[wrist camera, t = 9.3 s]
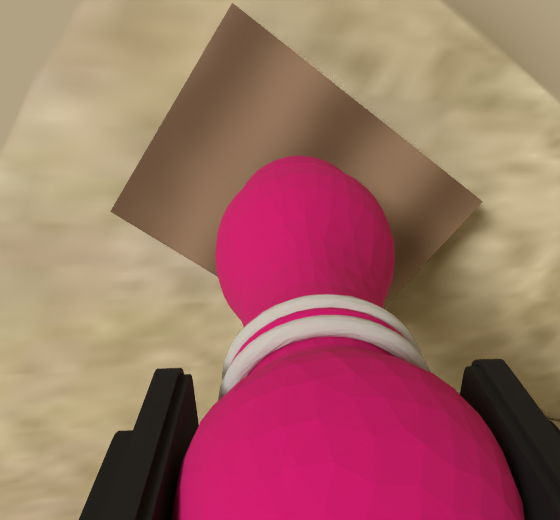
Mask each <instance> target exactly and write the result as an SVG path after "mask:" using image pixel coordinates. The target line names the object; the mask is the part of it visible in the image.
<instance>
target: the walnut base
mask: <svg viewBox="0 0 560 520" xmlns="http://www.w3.org/2000/svg"><path fill="white" fill-rule="evenodd" d="M290 156H308V157H315V158H318V159H321V160H324V161H327V162H329V163H331V164H333V165H334V166H336V167H337V168H339V169H340V170H341V171H342V172H343V173H345V174H347V175H349V176H351V177H353V178H355V179H356V180H357V181H358V182H360V183H361V184H362V185H364V186H365V187H366V188H367V189H368V190H369V191H370V192H371V193H372V195H373V196H374V197H375V198H376V199H377V201H378V203H379V204H380V206H381V208H382V209H383V212H384V214H385V216H386V219H387V221H388V223H389V226H390V229H391V233H392V236H393V239H394V254H395V261H394V273H393V279H392V283H391V285H390V288H389V291H388V294H387V296H386V298H385V300H384V302H383V308H384V307H385V306H386V305H387V304H388V303H389V302H390V301H391V300H392V298H393V297H394V296H395V295H396V294H397V293H398V292H399V291H400V290H401V289H402V288H403V287H404V286H405V285H406V283H407V282H408V281H409V280H410V279H411V278H412V277H413V276H414V275H415V274H416V273H417V272H418V271H419V270H420V268H421V267H422V266H423V265H424V264H425V263H426V262H427V261H428V260H429V259H430V258H431V257H432V256H433V254H434V253H435V252H436V251H437V250H438V249H439V248H440V247H441V246H442V245H443V244H444V243H445V242H446V241H447V239H448V238H449V237H450V236H451V235H452V234H453V233H454V232H455V231H456V230H457V229H458V228H459V227H460V226H461V224H462V223H463V222H464V221H465V220H466V219H467V218H468V217H469V216H470V215H471V214H472V213H473V212H474V210H475V209H476V208H477V207H478V206H479V205H480V204H481V203H482V202H483V201H481V200H480V199H479V198H477V197H476V196H475V195H474V194H472V193H471V192H470V191H469V190H467V189H466V188H465V187H464V186H462V185H461V184H460V183H459V182H457V181H456V180H455V179H454V178H452V177H451V176H450V175H449V174H447V173H446V172H445V171H443V170H442V169H441V168H440V167H438V166H437V165H436V164H435V163H433V162H432V161H431V160H430V159H428V158H427V157H426V156H425V155H423V154H422V153H421V152H420V151H418V150H417V149H416V148H414V147H413V146H412V145H411V144H409V143H408V142H407V141H406V140H404V139H403V138H402V137H401V136H399V135H398V134H397V133H396V132H394V131H393V130H392V129H391V128H389V127H388V126H387V125H386V124H384V123H383V122H382V121H380V120H379V119H378V118H377V117H375V116H374V115H373V114H372V113H370V112H369V111H368V110H367V109H365V108H364V107H363V106H362V105H360V104H359V103H358V102H357V101H355V100H354V99H353V98H352V97H350V96H349V95H348V94H346V93H345V92H344V91H343V90H341V89H340V88H339V87H338V86H336V85H335V84H334V83H333V82H331V81H330V80H329V79H328V78H326V77H325V76H324V75H323V74H321V73H320V72H319V71H317V70H316V69H315V68H314V67H312V66H311V65H310V64H309V63H307V62H306V61H305V60H304V59H302V58H301V57H300V56H299V55H297V54H296V53H295V52H294V51H292V50H291V49H290V48H289V47H287V46H286V45H285V44H283V43H282V42H281V41H280V40H278V39H277V38H276V37H275V36H273V35H272V34H271V33H270V32H268V31H267V30H266V29H265V28H263V27H262V26H261V25H260V24H258V23H257V22H256V21H254V20H253V19H252V18H251V17H249V16H248V15H247V14H246V13H244V12H243V11H242V10H241V9H239V8H238V7H237V6H236V5H234V4H233V3H232V4H231V6H230V8H229V9H228V11H227V13H226V15H225V16H224V18H223V20H222V21H221V23H220V25H219V27H218V28H217V30H216V32H215V33H214V35H213V37H212V38H211V40H210V42H209V44H208V45H207V47H206V49H205V50H204V52H203V54H202V56H201V57H200V59H199V61H198V62H197V64H196V66H195V68H194V69H193V71H192V73H191V74H190V76H189V78H188V80H187V81H186V83H185V85H184V86H183V88H182V90H181V92H180V93H179V95H178V97H177V98H176V100H175V102H174V104H173V105H172V107H171V109H170V110H169V112H168V114H167V115H166V117H165V119H164V121H163V122H162V124H161V126H160V127H159V129H158V131H157V133H156V134H155V136H154V138H153V139H152V141H151V143H150V145H149V146H148V148H147V150H146V151H145V153H144V155H143V157H142V158H141V160H140V162H139V163H138V165H137V167H136V169H135V170H134V172H133V174H132V175H131V177H130V179H129V181H128V182H127V184H126V186H125V187H124V189H123V191H122V192H121V194H120V196H119V198H118V199H117V201H116V203H115V204H114V206H113V208H112V210H111V211H110V212H112V213H114V214H115V215H117V216H119V217H120V218H122V219H124V220H125V221H127V222H129V223H130V224H132V225H134V226H135V227H137V228H139V229H140V230H142V231H143V232H145V233H147V234H148V235H150V236H152V237H153V238H155V239H157V240H158V241H160V242H162V243H163V244H165V245H167V246H168V247H170V248H172V249H173V250H175V251H177V252H178V253H180V254H181V255H183V256H185V257H186V258H188V259H190V260H191V261H193V262H195V263H196V264H198V265H200V266H201V267H203V268H205V269H206V270H208V271H210V272H211V273H213V274H214V275H216V276H218V275H217V272H216V261H215V251H216V241H217V233H218V229H219V225H220V222H221V219H222V217H223V215H224V213H225V211H226V209H227V207H228V205H229V204H230V203H231V201H232V200H233V199H234V197H235V196H236V195H237V194H238V193H239V192H240V191H241V190H242V189H243V187H244V186H245V184H246V183H247V181H248V180H249V179H250V178H251V177H252V176H253V174H255V173H256V172H257V171H258V170H259V169H260V168H262V167H264V166H265V165H267V164H269V163H271V162H273V161H275V160H278V159H281V158H284V157H290Z"/></svg>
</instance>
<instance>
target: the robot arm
mask: <svg viewBox="0 0 560 520" xmlns="http://www.w3.org/2000/svg"><path fill="white" fill-rule="evenodd" d="M460 395H461V396H462V397H463V398H464V399H465V400H466V401H467V402H468V403H469V404H470V405H471V406H472V407H473V408H474V409H475V410H476V411H477V412H478V413H479V414H480V416H481V417H482V419H483V420H484V422H485V423H486V424H487V426H488V427H489V429H490V430H491V432H492V433H493V435H494V437H495V439H496V440H497V442H498V444H499V446H500V447H501V449H502V451H503V453H504V456H505V458H506V461H507V463H508V466H509V469H510V471H511V474H512V476H513V479H514V481H515V484H516V487H517V489H518V492H519V494H520V497H521V499H522V502H523V510H524V518H525V520H560V422H557V421H554V420H550V419H547V418H546V416H545V415H544V414H543V412H542V411H541V410H540V408H539V407H538V406H537V404H536V403H535V402H534V400H533V399H532V398H531V396H530V395H529V394H528V392H527V391H526V389H525V388H524V387H523V385H522V384H521V383H520V381H519V380H518V379H517V377H516V376H515V375H514V373H513V372H512V371H511V369H510V368H509V367H508V365H507V364H506V363H505V362H504V361H503V360H501V359H481V360H474V361H473V363H472V366H468V367H466V368H465V370H464V375H463V380H462V386H461V391H460ZM198 427H199V424H198V417H197V409H196V402H195V394H194V387H193V380H192V376H191V374H185V375H184V372H183V369H182V368H166V369H157V370H156V371H155V373H154V375H153V378H152V381H151V383H150V386H149V389H148V391H147V394H146V397H145V400H144V402H143V405H142V408H141V410H140V413H139V416H138V418H137V421H136V424H135V426H134V429H133V430H131V431H118V432H117V433H116V434H115V435H114V437H113V439H112V441H111V444H110V446H109V448H108V451H107V453H106V456H105V458H104V460H103V463H102V465H101V468H100V470H99V473H98V475H97V477H96V480H95V482H94V485H93V487H92V489H91V492H90V494H89V497H88V499H87V501H86V504H85V506H84V509H83V511H82V513H81V516H80V518H79V520H172V510H173V505H174V499H175V494H176V488H177V483H178V478H179V472H180V467H181V464H182V461H183V458H184V455H185V453H186V451H187V449H188V447H189V445H190V443H191V441H192V439H193V437H194V435H195V433H196V431H197V429H198Z"/></svg>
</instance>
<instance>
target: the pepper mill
mask: <svg viewBox="0 0 560 520" xmlns="http://www.w3.org/2000/svg"><path fill="white" fill-rule="evenodd" d="M215 261H216V272H217V275H218V278H219V282H220V285H221V288H222V291H223V294H224V297H225V299H226V300H227V302H228V304H229V306H230V307H231V309H232V310H233V311H234V313H235V314H236V315H237V316H238V317H239V319H240V320H241V321H242V323H243V326H244V328H243V330H242V331H241V332H240V333H239V334H238V335H237V337H236V338H235V340H234V341H233V343H232V345H231V347H230V349H229V351H228V354H227V356H226V359H225V362H224V367H223V372H222V384H221V387H220V392H219V398H218V402H216V403H215V404H214V405H213V406H212V408H211V409H210V410H209V412H208V413H207V414H206V415H205V417H204V418H203V419H202V421H201V422H200V425H199V427H198V429H197V431H196V433H195V435H194V437H193V439H192V441H191V443H190V445H189V447H188V449H187V451H186V453H185V455H184V458H183V461H182V464H181V467H180V472H179V478H178V483H177V488H176V494H175V499H174V505H173V510H172V520H525V518H524V510H523V502H522V499H521V497H520V494H519V492H518V489H517V487H516V484H515V481H514V479H513V476H512V474H511V471H510V469H509V466H508V463H507V461H506V458H505V456H504V453H503V451H502V449H501V447H500V446H499V444H498V442H497V440H496V439H495V437H494V435H493V433H492V432H491V430H490V429H489V427H488V426H487V424H486V423H485V422H484V420H483V419H482V417H481V416H480V414H479V413H478V412H477V411H476V410H475V409H474V408H473V407H472V406H471V405H470V404H469V403H468V402H467V401H466V400H465V399H464V398H463V397H462V396H461V395H460V394H459V393H458V392H457V391H456V390H455V389H454V388H452V387H451V386H450V385H448V384H447V383H445V382H444V381H443V380H441V379H440V378H438V377H437V376H436V375H434V374H433V373H431V372H430V370H429V368H428V366H427V364H426V362H425V360H424V359H423V357H422V356H421V353H420V350H419V348H418V345H417V343H416V341H415V339H414V338H413V336H412V335H411V333H410V332H409V330H408V329H407V328H406V327H405V326H404V325H403V323H402V322H401V321H399V320H398V319H397V318H396V317H395V316H394V315H392V314H391V313H389V312H388V311H386V310H385V309H383V302H384V300H385V298H386V296H387V294H388V291H389V288H390V285H391V283H392V279H393V273H394V261H395V254H394V239H393V236H392V233H391V229H390V226H389V223H388V221H387V219H386V216H385V214H384V212H383V209H382V208H381V206H380V204H379V203H378V201H377V199H376V198H375V197H374V196H373V195H372V193H371V192H370V191H369V190H368V189H367V188H366V187H365V186H364V185H362V184H361V183H360V182H358V181H357V180H356V179H355V178H353V177H351V176H349V175H347V174H345V173H343V172H342V171H341V170H340V169H339V168H337V167H336V166H334V165H333V164H331V163H329V162H327V161H324V160H321V159H318V158H315V157H308V156H290V157H284V158H281V159H278V160H275V161H273V162H271V163H269V164H267V165H265V166H264V167H262V168H260V169H259V170H258V171H257V172H256V173H255V174H253V176H252V177H251V178H250V179H249V180H248V181H247V183H246V184H245V186H244V187H243V189H242V190H241V191H240V192H239V193H238V194H237V195H236V196H235V197H234V199H233V200H232V201H231V203H230V204H229V205H228V207H227V209H226V211H225V213H224V215H223V217H222V219H221V222H220V225H219V229H218V233H217V241H216V251H215Z"/></svg>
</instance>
